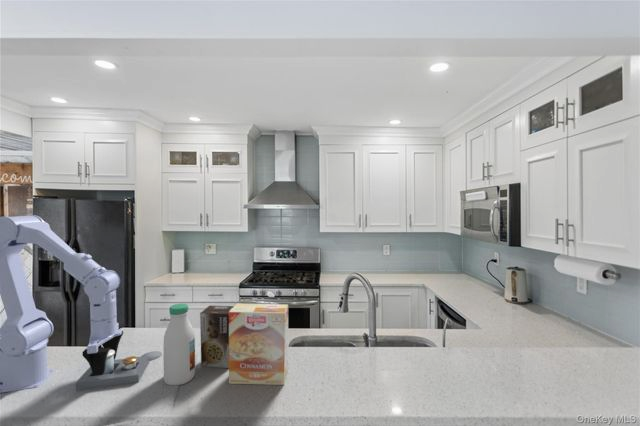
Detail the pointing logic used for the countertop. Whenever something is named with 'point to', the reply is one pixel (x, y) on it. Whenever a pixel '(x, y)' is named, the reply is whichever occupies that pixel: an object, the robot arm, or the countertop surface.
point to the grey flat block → (113, 375)
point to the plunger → (129, 363)
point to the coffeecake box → (258, 344)
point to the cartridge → (109, 362)
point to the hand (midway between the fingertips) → (105, 366)
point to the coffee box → (215, 336)
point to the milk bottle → (179, 347)
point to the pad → (153, 355)
